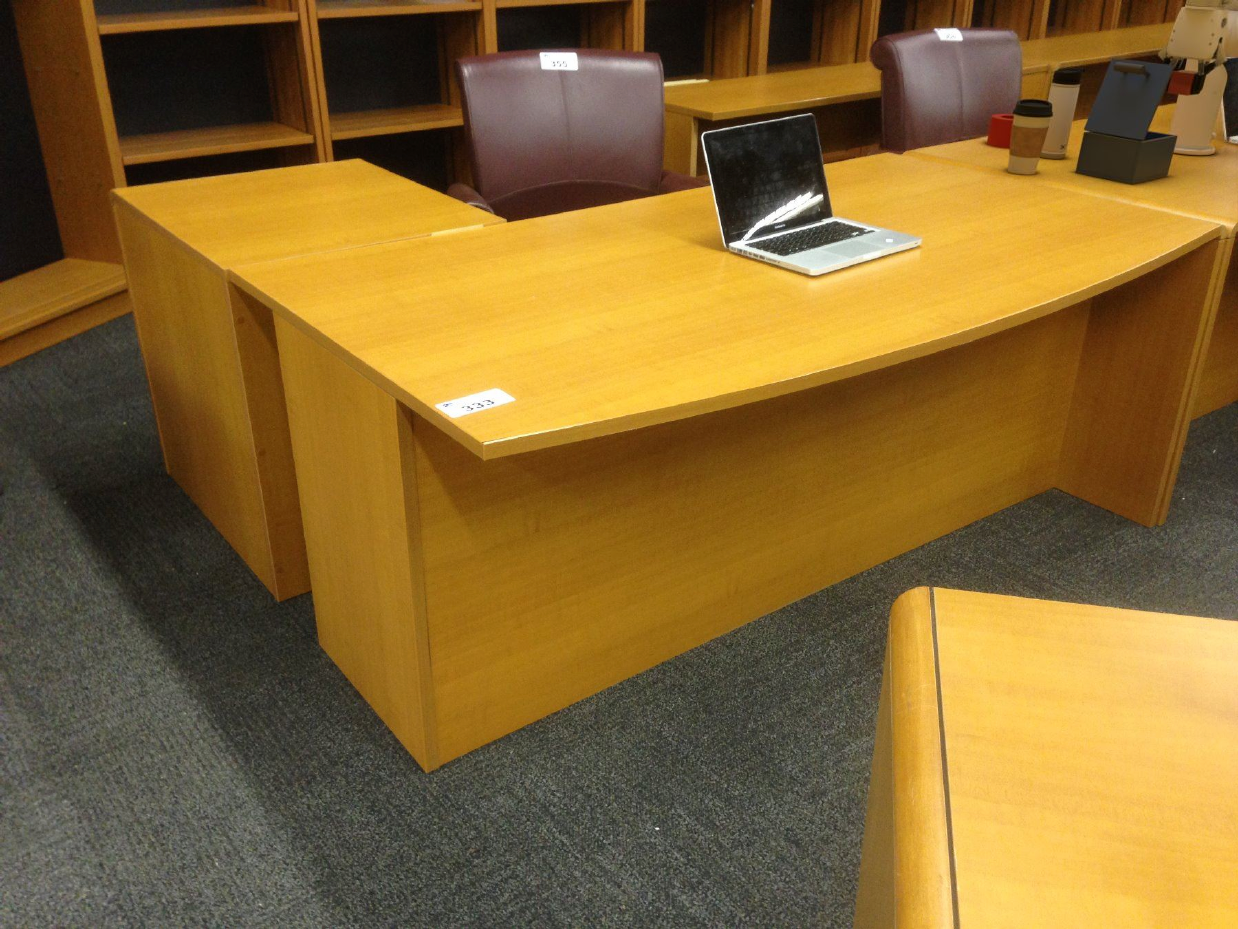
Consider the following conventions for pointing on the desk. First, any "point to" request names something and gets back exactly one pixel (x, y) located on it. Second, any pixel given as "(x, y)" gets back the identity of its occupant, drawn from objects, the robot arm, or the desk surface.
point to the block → (1181, 82)
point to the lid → (1128, 98)
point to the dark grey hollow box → (1126, 157)
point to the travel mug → (1061, 111)
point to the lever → (1000, 130)
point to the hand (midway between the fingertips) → (1182, 91)
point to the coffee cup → (1028, 135)
